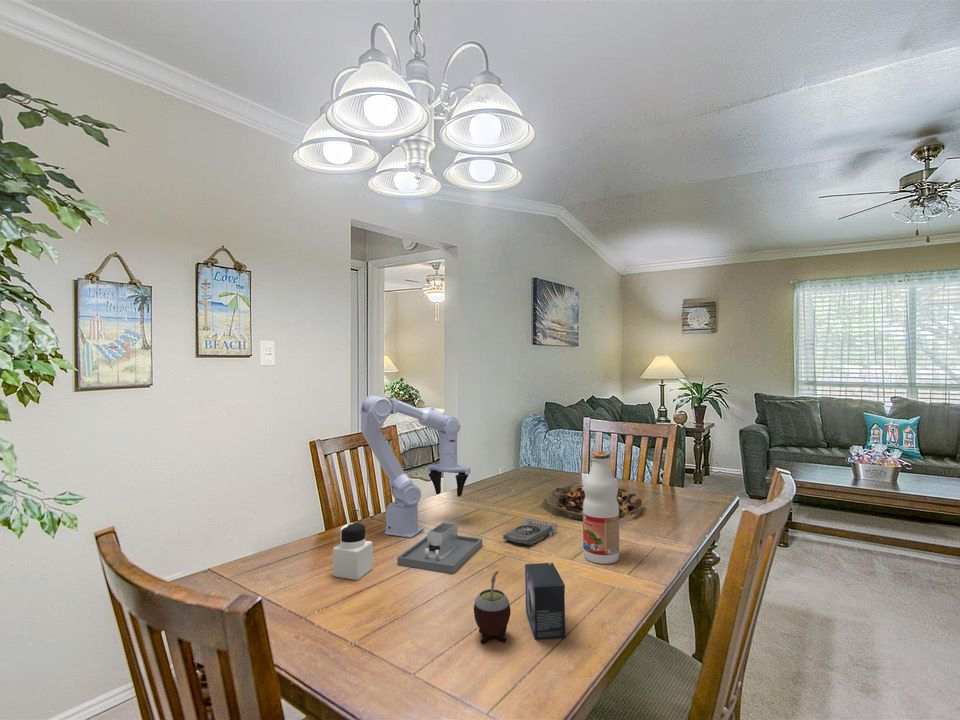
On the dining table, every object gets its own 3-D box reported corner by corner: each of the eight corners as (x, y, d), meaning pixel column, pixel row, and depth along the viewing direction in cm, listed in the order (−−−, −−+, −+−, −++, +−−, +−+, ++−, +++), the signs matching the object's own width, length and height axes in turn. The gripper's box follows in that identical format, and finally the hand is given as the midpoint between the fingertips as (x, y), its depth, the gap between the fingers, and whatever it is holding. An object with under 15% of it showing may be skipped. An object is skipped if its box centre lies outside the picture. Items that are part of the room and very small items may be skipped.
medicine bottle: (373, 569, 128) (372, 522, 128) (357, 580, 121) (357, 531, 121) (349, 565, 130) (348, 519, 130) (332, 576, 123) (332, 528, 123)
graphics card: (524, 515, 160) (557, 521, 153) (525, 527, 160) (558, 534, 153) (493, 530, 147) (528, 538, 139) (494, 543, 147) (528, 552, 139)
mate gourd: (489, 622, 101) (488, 549, 101) (521, 636, 96) (520, 558, 96) (465, 639, 95) (464, 560, 95) (497, 654, 90) (497, 571, 90)
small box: (523, 612, 105) (523, 562, 105) (554, 610, 106) (553, 561, 106) (533, 640, 95) (532, 585, 95) (567, 638, 95) (566, 583, 95)
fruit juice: (623, 564, 129) (622, 456, 129) (587, 565, 129) (586, 456, 129) (614, 550, 138) (613, 449, 138) (580, 550, 138) (579, 450, 138)
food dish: (651, 506, 183) (652, 485, 182) (625, 536, 155) (625, 511, 154) (562, 490, 201) (562, 471, 201) (524, 514, 173) (524, 492, 173)
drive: (427, 554, 134) (427, 532, 134) (443, 543, 142) (443, 521, 142) (441, 557, 132) (441, 534, 132) (457, 545, 140) (457, 523, 140)
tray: (397, 564, 130) (397, 551, 130) (432, 538, 149) (432, 526, 149) (453, 574, 124) (453, 560, 124) (482, 545, 143) (482, 533, 143)
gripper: (473, 452, 163) (474, 493, 163) (434, 449, 168) (434, 489, 168) (465, 456, 156) (465, 499, 156) (424, 453, 162) (424, 495, 162)
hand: (448, 494), depth 162 cm, fingers open, 7 cm apart
